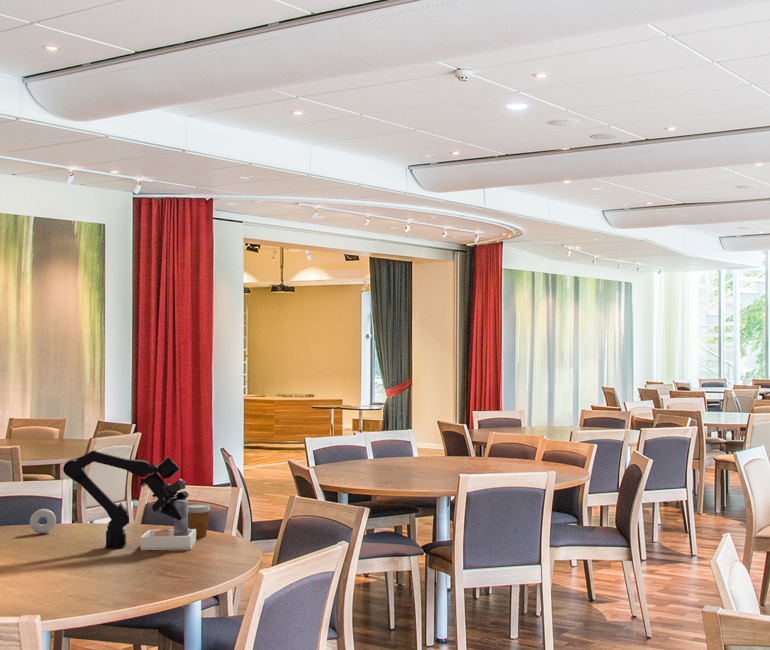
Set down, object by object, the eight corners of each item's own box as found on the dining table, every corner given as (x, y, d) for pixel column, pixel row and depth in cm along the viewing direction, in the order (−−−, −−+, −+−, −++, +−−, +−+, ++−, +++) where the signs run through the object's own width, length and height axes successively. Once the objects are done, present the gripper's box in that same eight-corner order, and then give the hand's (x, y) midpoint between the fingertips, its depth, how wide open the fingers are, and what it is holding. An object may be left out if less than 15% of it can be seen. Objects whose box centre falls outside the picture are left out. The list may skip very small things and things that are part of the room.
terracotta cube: (154, 545, 314) (154, 531, 314) (156, 542, 319) (156, 529, 319) (167, 545, 314) (167, 531, 314) (170, 542, 319) (170, 529, 319)
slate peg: (174, 537, 314) (174, 502, 315) (173, 534, 319) (174, 500, 319) (187, 536, 315) (188, 501, 316) (187, 534, 320) (187, 499, 321)
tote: (140, 551, 309) (140, 537, 309) (148, 543, 323) (148, 529, 323) (190, 550, 310) (190, 536, 310) (196, 542, 324) (196, 529, 324)
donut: (29, 535, 339) (29, 510, 339) (29, 533, 342) (29, 508, 343) (56, 533, 343) (56, 508, 343) (55, 531, 346) (56, 507, 346)
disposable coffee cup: (213, 533, 340) (213, 503, 341) (206, 538, 331) (206, 507, 331) (190, 533, 341) (190, 503, 342) (182, 538, 332) (182, 507, 332)
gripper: (159, 475, 310) (185, 507, 307) (184, 470, 328) (210, 499, 325) (140, 496, 312) (166, 528, 308) (166, 489, 330) (191, 519, 326)
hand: (184, 518), depth 317 cm, fingers closed on slate peg, 5 cm apart
